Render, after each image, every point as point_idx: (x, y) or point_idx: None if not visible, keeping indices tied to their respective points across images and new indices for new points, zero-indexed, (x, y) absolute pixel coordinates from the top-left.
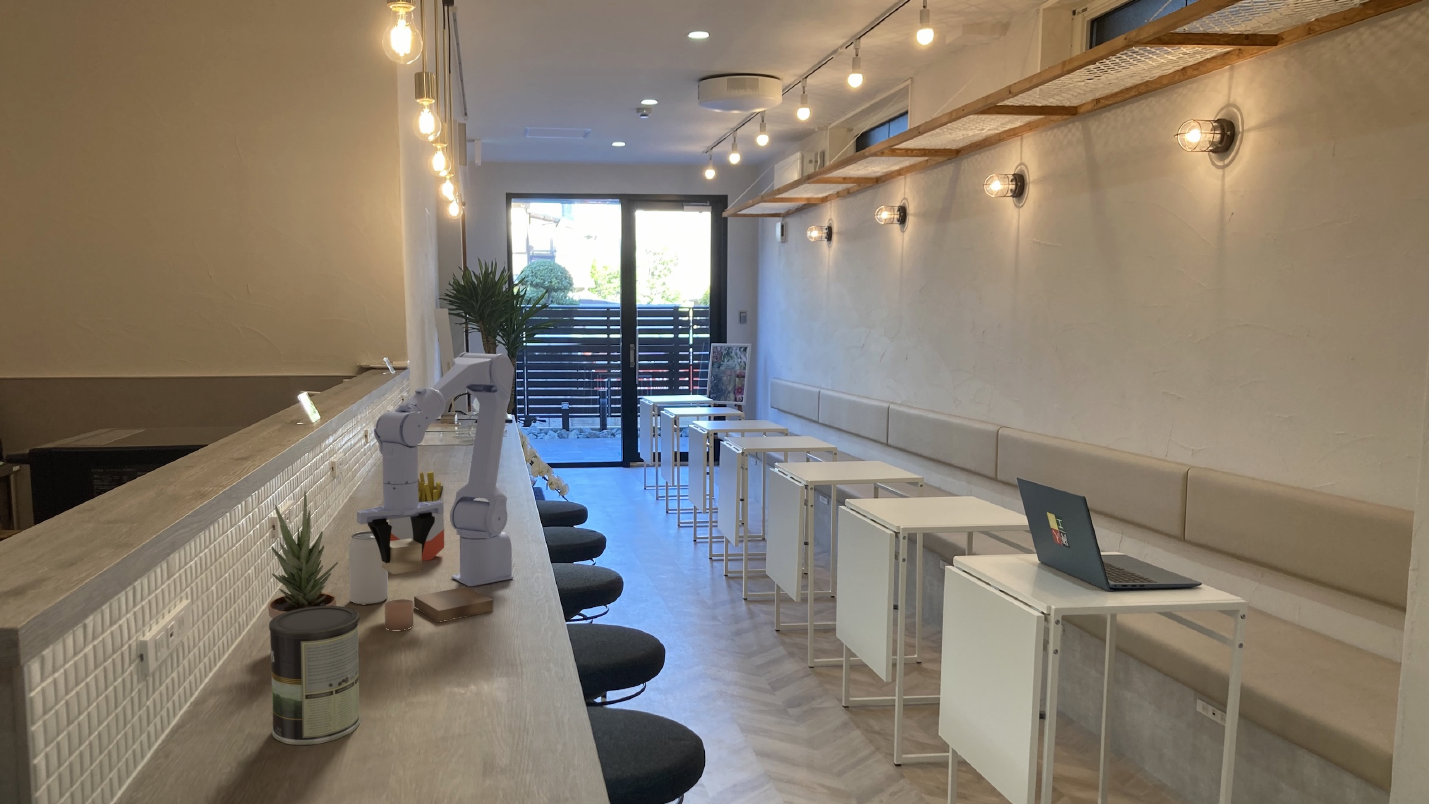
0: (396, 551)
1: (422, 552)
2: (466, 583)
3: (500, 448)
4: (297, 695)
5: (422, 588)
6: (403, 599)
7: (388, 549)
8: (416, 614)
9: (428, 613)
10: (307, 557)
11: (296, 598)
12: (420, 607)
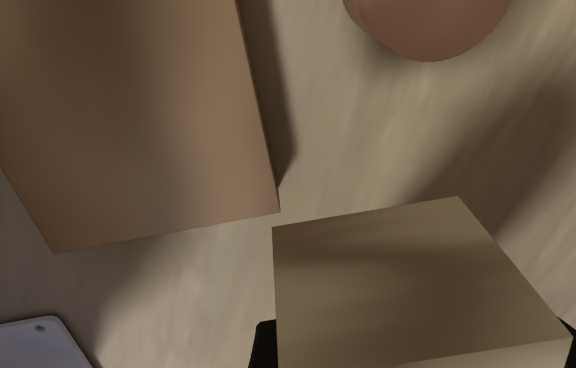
0: (517, 313)
1: (256, 346)
2: (64, 334)
3: None
4: None
5: (211, 346)
6: (394, 51)
7: (571, 352)
8: (289, 110)
9: (251, 67)
10: None
11: None
12: (267, 144)
